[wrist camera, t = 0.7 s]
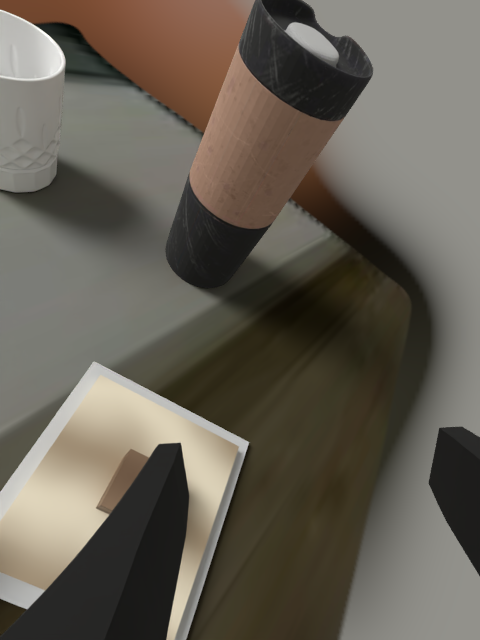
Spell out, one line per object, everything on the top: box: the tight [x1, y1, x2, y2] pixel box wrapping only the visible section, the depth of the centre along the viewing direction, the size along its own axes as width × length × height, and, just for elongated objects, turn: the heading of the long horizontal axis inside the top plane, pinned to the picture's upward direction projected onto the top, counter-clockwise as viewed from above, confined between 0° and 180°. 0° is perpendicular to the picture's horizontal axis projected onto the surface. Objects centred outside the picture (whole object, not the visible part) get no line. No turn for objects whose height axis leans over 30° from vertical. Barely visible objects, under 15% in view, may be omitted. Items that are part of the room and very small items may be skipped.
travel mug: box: [166, 0, 373, 288], centre depth 27 cm, size 8×8×20 cm
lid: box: [0, 375, 239, 640], centre depth 20 cm, size 11×11×4 cm
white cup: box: [0, 10, 65, 193], centre depth 27 cm, size 8×8×10 cm
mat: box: [0, 362, 249, 640], centre depth 22 cm, size 13×13×1 cm
